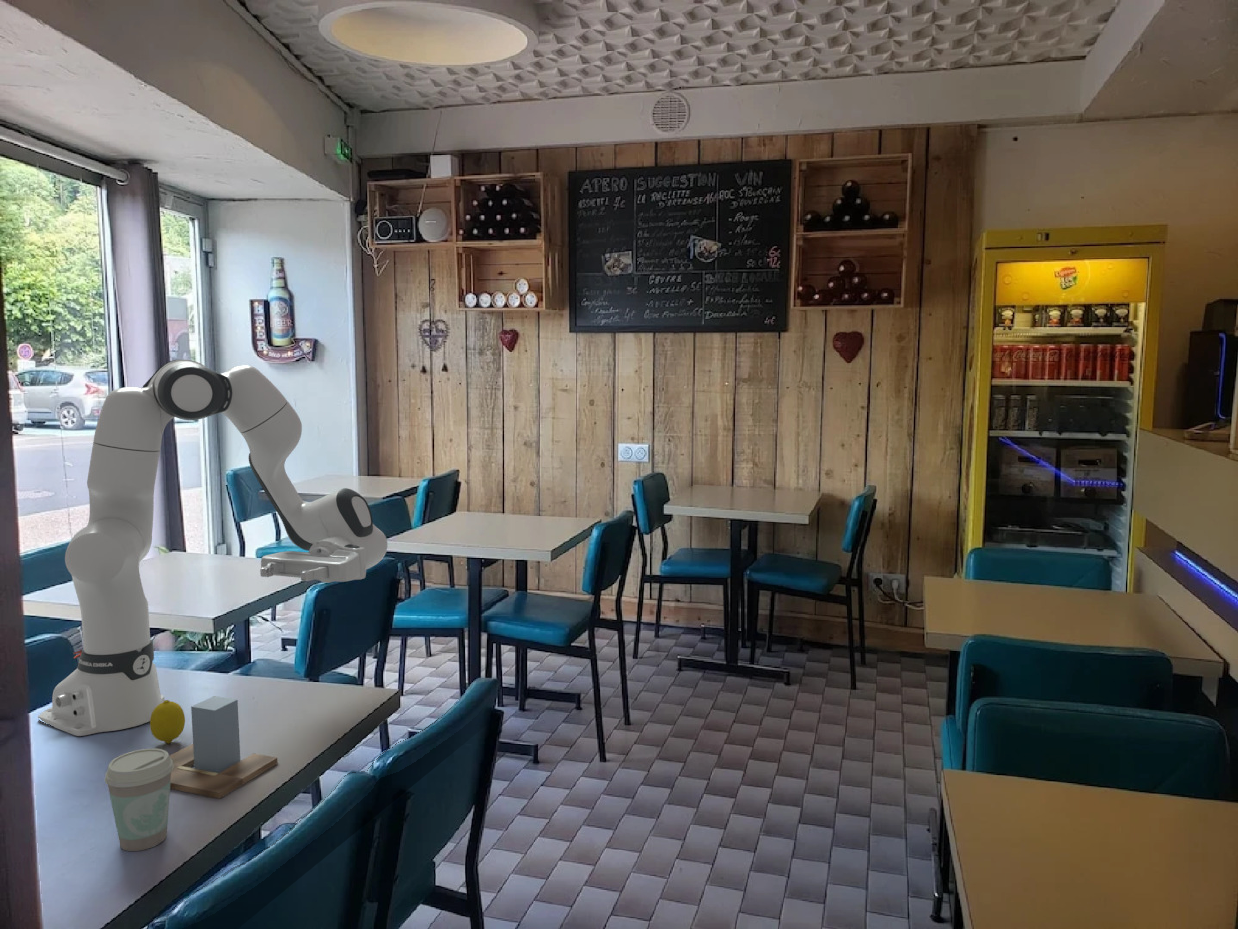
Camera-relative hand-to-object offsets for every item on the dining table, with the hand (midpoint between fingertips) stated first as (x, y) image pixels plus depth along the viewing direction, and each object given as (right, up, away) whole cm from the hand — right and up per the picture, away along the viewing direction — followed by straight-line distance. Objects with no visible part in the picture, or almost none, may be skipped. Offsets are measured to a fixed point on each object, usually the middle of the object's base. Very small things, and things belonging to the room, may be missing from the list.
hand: (283, 574), depth 163 cm
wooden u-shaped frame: (-5, -30, -20) cm, 37 cm away
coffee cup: (-4, -33, -41) cm, 53 cm away
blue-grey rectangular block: (-4, -30, -18) cm, 35 cm away
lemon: (-17, -29, -9) cm, 35 cm away
